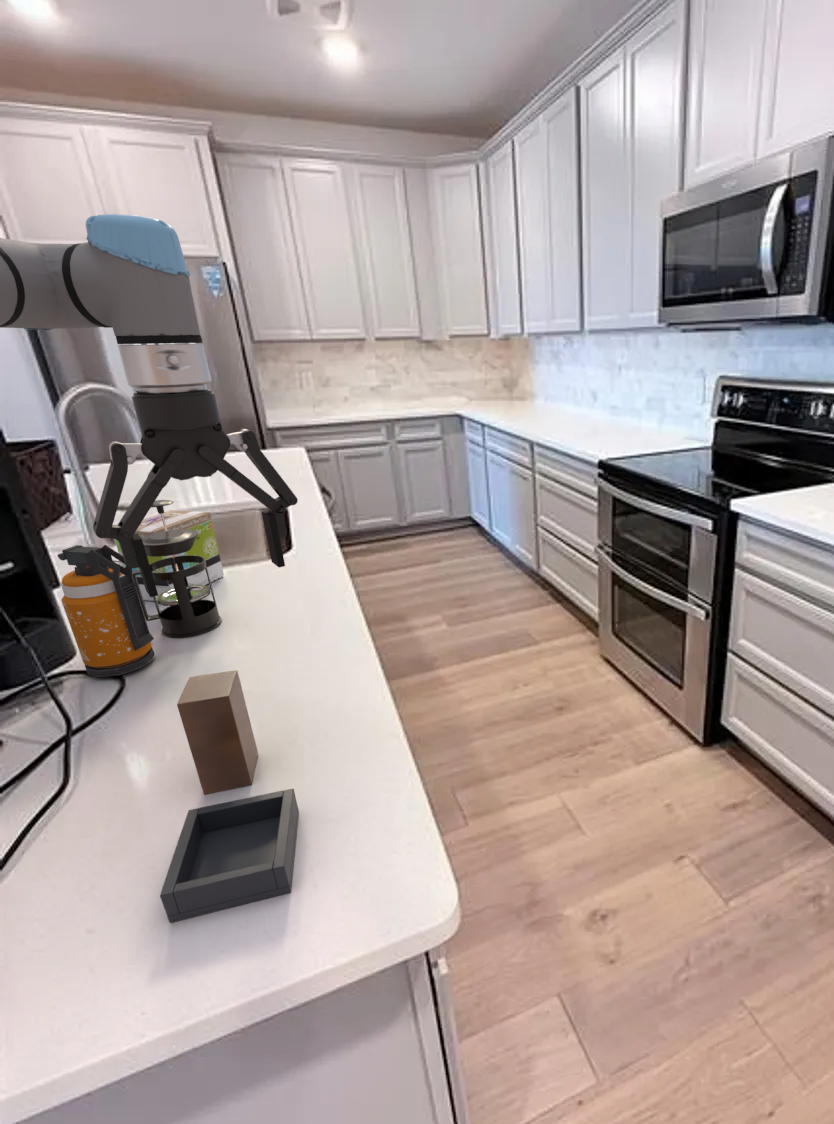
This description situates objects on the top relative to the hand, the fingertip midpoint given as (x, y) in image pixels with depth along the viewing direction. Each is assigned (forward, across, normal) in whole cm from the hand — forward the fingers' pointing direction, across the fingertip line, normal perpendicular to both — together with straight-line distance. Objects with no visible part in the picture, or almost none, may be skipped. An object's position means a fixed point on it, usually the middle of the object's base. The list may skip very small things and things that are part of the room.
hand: (218, 578), depth 72 cm
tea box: (+22, +4, +64) cm, 68 cm away
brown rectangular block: (+22, -5, -7) cm, 23 cm away
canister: (+22, -10, +32) cm, 40 cm away
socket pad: (+22, -8, -22) cm, 32 cm away
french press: (+22, +1, +42) cm, 47 cm away
